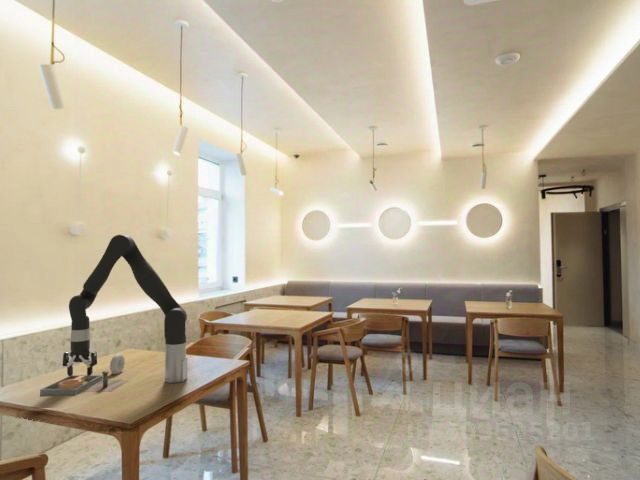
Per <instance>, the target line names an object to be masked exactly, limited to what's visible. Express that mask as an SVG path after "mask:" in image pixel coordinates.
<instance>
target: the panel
mask: <svg viewBox="0 0 640 480" xmlns="http://www.w3.org/2000/svg"><path fill="white" fill-rule="evenodd" d="M108 374H110V372H109V370H104V371H102V372H101V375H103V380H101V381H99V382H98V383H96V384H94V385H92V386H90V387H89V388H87V389H85V390H83V393H85V392H86V393H89V392H90V393H92V392H93V393H99V392H103V393H105V392H110V393H111V392H113V391H115V390H117V389H118V388H120V387H122V386H124V384H126V383H128V382H129V381H130V379H108V377H109V375H108Z"/></svg>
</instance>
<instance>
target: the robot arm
mask: <svg viewBox="0 0 640 480" xmlns="http://www.w3.org/2000/svg"><path fill="white" fill-rule="evenodd" d="M121 257H123V259H124V260H125V261H126V263H127V264H128V265H129V268H130V269H131V272H132V275H133V277H134V279H135V280H136V283H137V284H138V286H139V287H140V289H141V290H142V291H143V292H144V293H145V294H146V296H148V297H149V299H151V300H152V301H153V302H154V303H156V305H158V307H159V308H160V309H161V311H162V313H163V314H164V325H163V327H164V331H163V332H164V334H163V335H164V341H165V342H164V345H165V346H164V347H165V349H164V351H165V353H164V382H165V383H169V384H171V383H173V384H174V383H181V382H184V381H186V380H187V379H188V357H187V336H186V322H187V319H188V315H187V312H186V310H185V309H184V308H182V306H181V305H180V303H178V302H177V301H176V299H175V298H174V297H173V295H172V294H171V292H170V291H169V290H168V288H167V286H166V285H165V283H164V281H163V279H162V278H161V277H160V276H159V274H158V273H157V272H156V270H155V269H154V268H153V266H152V265H151V264H150V262H148V260H147V259H146V258H145V257H144V256H143V254H142V252H141V251H140V249H139V247H138V245H137V243H136V242H135V240H134V239H133V238H132V237H131V236H130V235H127V234H117V235H115V236H112V238H111V239H110V240H109V243H108V245H107V247H106V249H105V251H104V253H103V255H102V256H101V259H100V260H99V261H98V263H97V264H96V266H95V268H94V269H93V270H92V272H91V273H90V275H89V276H88V277H87V279H86V280H85V282H84V283H83V285H82V290H81V292H80V294H77V295H74V296H73V297H71V298H70V300H69V303H68V310H69V314H70V315H69V316H70V319H71V325H70V326H71V327H70V328H71V330H70V331H71V332H70V347H69V349H70V351H66V352H64V353H63V356H62V357H63V358H62V367H66V368H67V369H66V371H67V377H68V376H71V375H73V374H74V366H73V365H74V364H75V363H83V364H85V365H86V367H87V368H86V375H87V376H90V375H92V374H93V370H94V369H93V367H94V366H97V365H98V355H97V351H90V346H91V345H90V344H91V334H90V333H91V332H90V331H91V330H90V317H89V315H87V309H89V308H90V307H91V306H92V305H93V303H94V302H95V300H96V297H97V296H98V293H99V292H100V291H101V289H102V288H103V286H104V285H105V283H106V282H107V280H108V278H109V276H110V274H111V272H112V270H113V268H114V266H115V265H116V263H117V262H118V261H119V260H120V259H121ZM70 358H71V359H70Z"/></svg>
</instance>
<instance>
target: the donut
mask: <svg viewBox="0 0 640 480" xmlns="http://www.w3.org/2000/svg"><path fill="white" fill-rule="evenodd" d="M125 360H126V358H125V357H124V355H123V354H122V353H116V354H115V355H113V356H112V358H111V360H110V363H109V370H110V373H111V374H112V375H118V374H121V373H122V372H123V371H124V369H125V364H126V361H125Z"/></svg>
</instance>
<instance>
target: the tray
mask: <svg viewBox="0 0 640 480" xmlns="http://www.w3.org/2000/svg"><path fill="white" fill-rule="evenodd" d="M79 376H85V381H88V382H84V384H83V385H82V386H80V387H78V388H76V389H58V383H60V382H62V381H65V380H70V379H75V378H77V377H79ZM101 381H103V374H98V375H96V374H93V375H92V374H91V375H90V376H87V374H85V375H83V374H82V375H78V374H74V375H71V376H68V375H67V376H65V377H64V378H62V379H60V380H57V381H55V382H53V383H51V384H49V385H47V386H45V387H43V388H40V390H39V397H40V398H41V397H42V396H44V395H45V396H47V395H49V396H51V395H59V396H60V395H67V396H68V395H71V396H72V395H73V396H74V395H78V394H79V393H81V392H84V391H85V390H87V389H89V388H91V387H92V386H94V385H96V384H98V383H100V382H101Z"/></svg>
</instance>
